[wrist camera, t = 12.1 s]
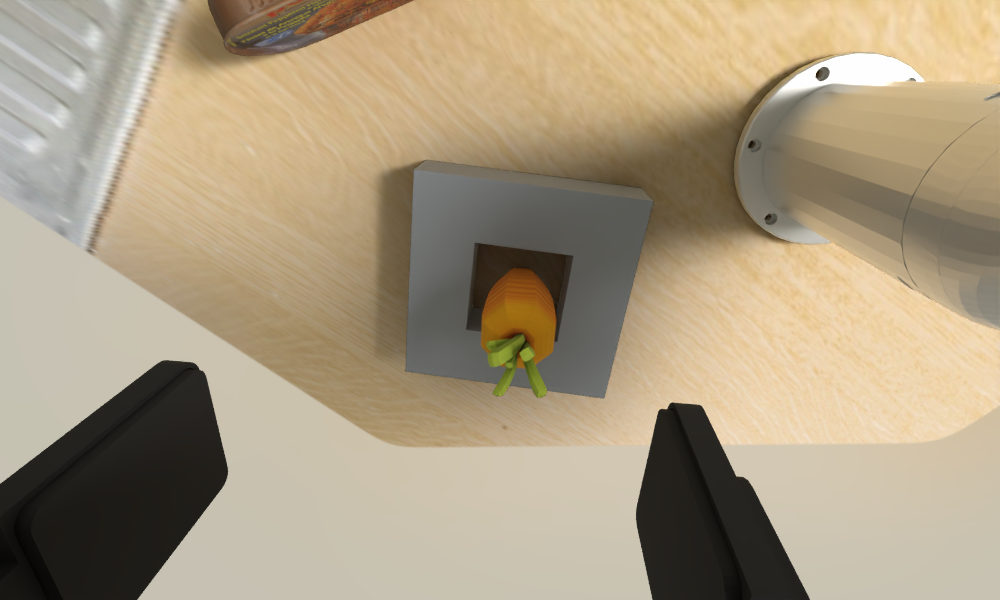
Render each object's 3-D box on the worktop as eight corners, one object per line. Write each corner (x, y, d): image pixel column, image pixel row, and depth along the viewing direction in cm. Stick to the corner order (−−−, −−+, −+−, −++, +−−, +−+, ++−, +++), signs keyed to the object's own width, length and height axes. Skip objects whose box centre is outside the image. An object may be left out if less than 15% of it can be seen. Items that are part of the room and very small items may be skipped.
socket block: (641, 188, 37) (653, 201, 33) (598, 371, 43) (604, 398, 40) (426, 159, 37) (414, 169, 33) (416, 346, 43) (405, 371, 40)
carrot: (560, 291, 40) (573, 402, 27) (502, 308, 41) (487, 424, 28) (541, 235, 39) (546, 324, 25) (481, 255, 40) (454, 350, 26)
